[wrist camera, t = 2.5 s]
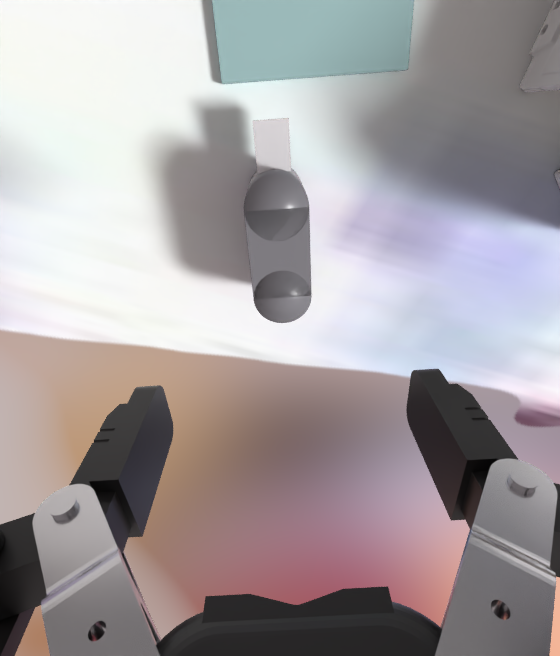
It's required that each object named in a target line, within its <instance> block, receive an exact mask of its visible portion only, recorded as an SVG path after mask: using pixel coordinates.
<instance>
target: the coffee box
mask: <svg viewBox="0 0 560 656" xmlns="http://www.w3.org/2000/svg"><path fill="white" fill-rule="evenodd" d="M554 176H555V178H556V181H557V183H558V186H559V189H560V169H559V170H558V171H556V172H555V173H554Z"/></svg>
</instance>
